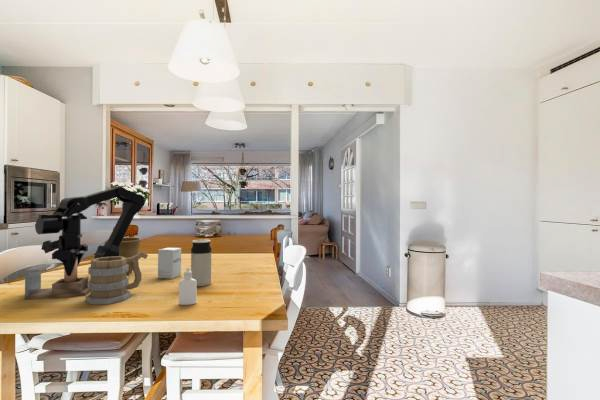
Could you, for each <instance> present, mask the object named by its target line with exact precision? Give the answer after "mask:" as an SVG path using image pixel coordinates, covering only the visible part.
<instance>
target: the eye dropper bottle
mask: <svg viewBox="0 0 600 400" xmlns="http://www.w3.org/2000/svg"><path fill="white" fill-rule="evenodd" d="M183 273H184V274H183V278H181V279H180V280H179V282H178V304H179V305H180V306H191V305H195V304H197V298H198V297H197V296H198V294H197V291H198V289H197V281H196V280H195V279H193V278H192V271H191V268H190V267H187V268H186V270H185V271H184V272H183Z"/></svg>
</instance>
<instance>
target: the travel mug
mask: <svg viewBox="0 0 600 400" xmlns="http://www.w3.org/2000/svg"><path fill="white" fill-rule="evenodd" d="M191 243H192V247H191V248H190V250H191V251H190V271H192V278H193V279H195V280H196V281H197V286H201V287H207V286H209V285H211V284H212V246H211V239H194V240H191Z"/></svg>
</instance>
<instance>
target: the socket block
mask: <svg viewBox="0 0 600 400" xmlns="http://www.w3.org/2000/svg"><path fill="white" fill-rule="evenodd" d="M50 267H51V264H48V263H46V264H36V265H35V266H31V267H30V268H27V269H25V270H24V300H36V299H38V298H40V299H51V298H52V299H53V298H66V297H78V296H79V297H81V296H87V295H88V293H90V289H89V288H88V282H89V277H77V281H76V282H70V283H65V282H64V278H60V279H59V280H56V281H55V282H54V283H52V284H51V287H50V288H47V287H46V288H42V271H44V270H46V269H48V268H50Z"/></svg>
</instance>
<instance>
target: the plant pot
mask: <svg viewBox="0 0 600 400" xmlns="http://www.w3.org/2000/svg"><path fill="white" fill-rule="evenodd" d="M108 239H109V238H108ZM108 239H104V245H105V244H106V243H107V241H108ZM141 241H142V238H140V237H131V236H130V237H129V236H128V237H127V236H126V237H124V238H123V240H122V242H121V244H120V246H119V256H121V257H125V258H131V257H133V256H135V255H137V254H138V253H140V249H141V248H140V246H141ZM127 264H128V265H129V271H128V272H127V275H131V274H132V273H133V269H132V262H129V263H127Z"/></svg>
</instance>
